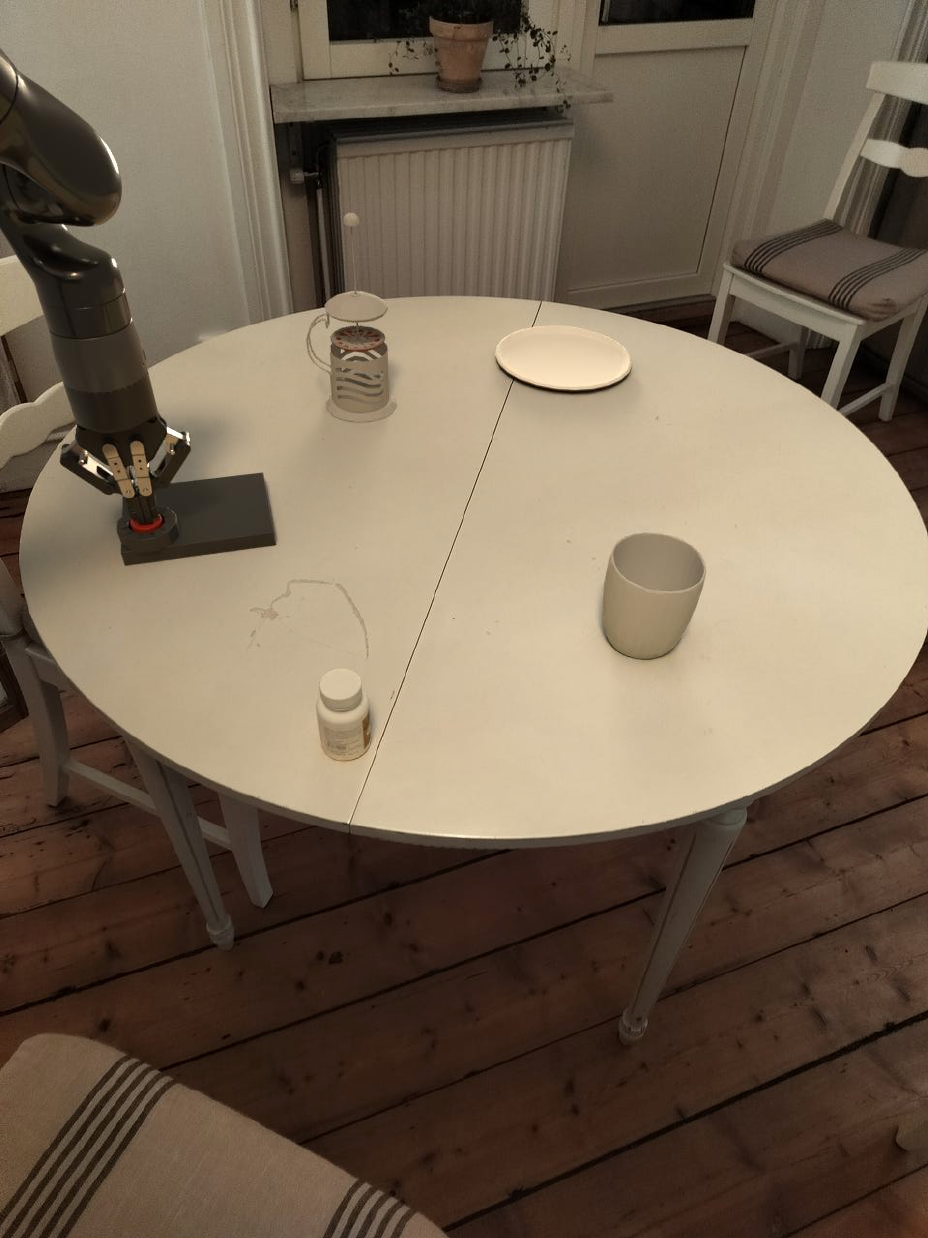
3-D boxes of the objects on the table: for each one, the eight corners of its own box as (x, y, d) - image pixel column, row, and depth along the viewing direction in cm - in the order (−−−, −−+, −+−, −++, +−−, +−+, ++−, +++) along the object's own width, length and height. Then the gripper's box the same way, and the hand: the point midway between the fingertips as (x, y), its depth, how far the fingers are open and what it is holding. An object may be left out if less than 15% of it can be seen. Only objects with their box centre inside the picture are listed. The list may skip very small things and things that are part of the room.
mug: (696, 665, 81) (722, 588, 74) (608, 673, 80) (626, 596, 73) (654, 580, 90) (674, 505, 83) (575, 587, 89) (588, 511, 82)
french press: (394, 423, 112) (389, 229, 95) (307, 419, 112) (287, 224, 95) (399, 387, 119) (395, 201, 102) (318, 384, 119) (301, 197, 102)
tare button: (133, 543, 88) (130, 530, 87) (134, 525, 91) (130, 512, 89) (165, 539, 89) (161, 526, 88) (164, 522, 91) (161, 509, 90)
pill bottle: (379, 750, 72) (376, 692, 67) (332, 769, 71) (325, 711, 66) (358, 716, 75) (354, 657, 70) (313, 733, 74) (305, 674, 68)
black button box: (124, 569, 89) (115, 543, 86) (126, 501, 97) (118, 476, 95) (276, 548, 92) (272, 522, 90) (265, 484, 101) (261, 459, 98)
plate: (506, 325, 135) (507, 317, 135) (634, 340, 133) (636, 333, 132) (483, 385, 121) (483, 377, 120) (627, 404, 118) (628, 396, 117)
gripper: (22, 396, 73) (79, 550, 85) (179, 381, 76) (212, 532, 88) (30, 357, 78) (83, 507, 90) (177, 344, 81) (208, 492, 93)
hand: (147, 519), depth 89 cm, fingers closed
